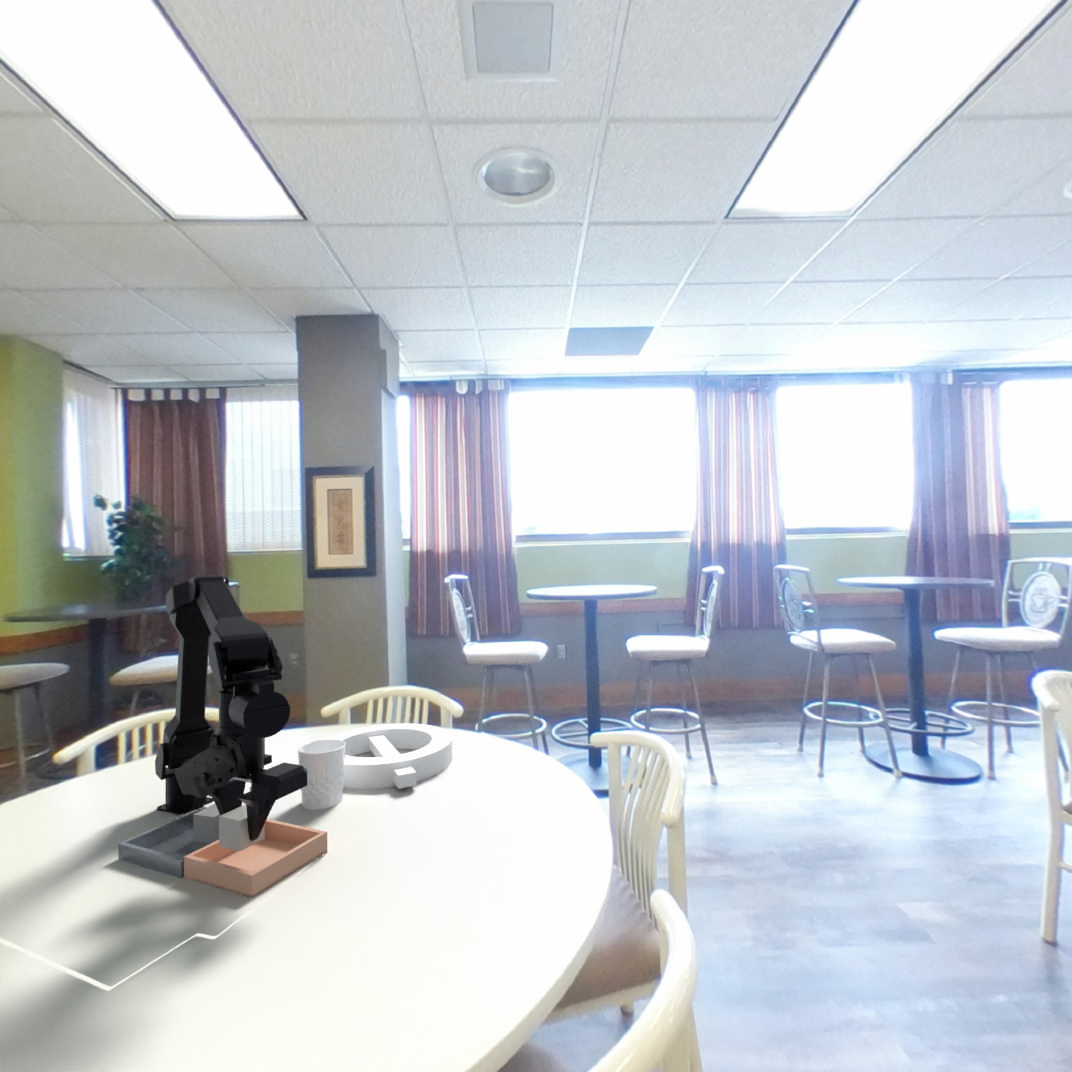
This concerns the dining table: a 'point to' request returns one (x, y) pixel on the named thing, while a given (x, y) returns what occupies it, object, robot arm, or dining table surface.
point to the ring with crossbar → (394, 754)
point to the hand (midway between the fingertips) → (242, 836)
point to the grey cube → (206, 825)
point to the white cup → (322, 773)
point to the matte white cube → (236, 830)
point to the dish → (257, 859)
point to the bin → (163, 846)
